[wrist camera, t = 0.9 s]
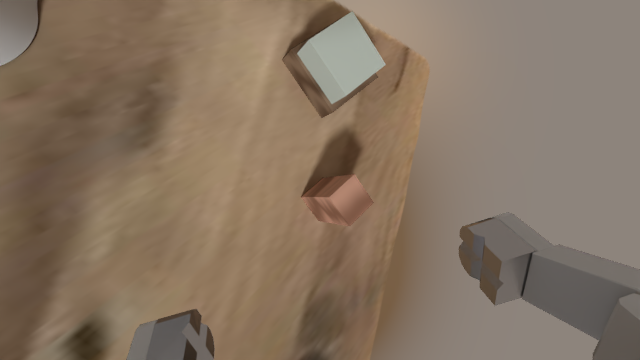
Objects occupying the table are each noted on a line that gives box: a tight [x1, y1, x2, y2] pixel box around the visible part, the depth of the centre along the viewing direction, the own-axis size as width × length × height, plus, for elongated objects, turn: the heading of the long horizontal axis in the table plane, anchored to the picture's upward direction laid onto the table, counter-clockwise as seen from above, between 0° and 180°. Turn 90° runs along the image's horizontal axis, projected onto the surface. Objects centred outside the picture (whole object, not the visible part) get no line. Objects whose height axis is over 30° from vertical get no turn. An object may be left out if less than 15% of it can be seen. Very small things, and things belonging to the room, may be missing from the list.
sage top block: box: [297, 11, 386, 104], centre depth 47 cm, size 9×9×4 cm
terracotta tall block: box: [301, 174, 374, 226], centre depth 47 cm, size 5×5×10 cm
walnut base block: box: [282, 18, 378, 118], centre depth 52 cm, size 11×11×4 cm
